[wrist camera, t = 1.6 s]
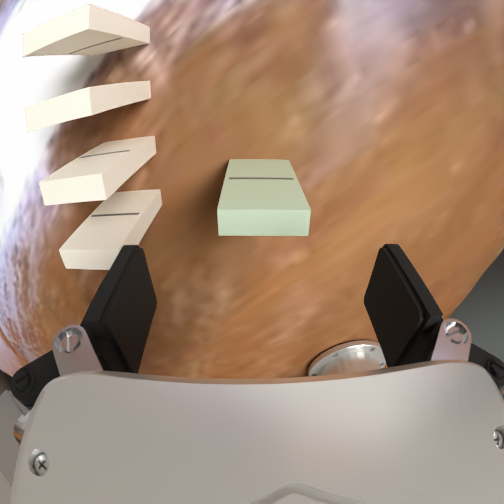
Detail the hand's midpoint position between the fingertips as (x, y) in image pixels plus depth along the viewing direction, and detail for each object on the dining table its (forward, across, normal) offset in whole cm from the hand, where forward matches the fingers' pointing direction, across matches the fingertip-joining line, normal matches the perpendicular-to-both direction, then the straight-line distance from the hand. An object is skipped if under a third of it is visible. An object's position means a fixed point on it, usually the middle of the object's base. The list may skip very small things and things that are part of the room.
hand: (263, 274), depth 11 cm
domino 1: (+16, +11, -12) cm, 22 cm away
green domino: (+15, 0, +1) cm, 15 cm away
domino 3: (+15, +11, -2) cm, 19 cm away
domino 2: (+15, +11, -7) cm, 20 cm away
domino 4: (+15, +11, +3) cm, 19 cm away
